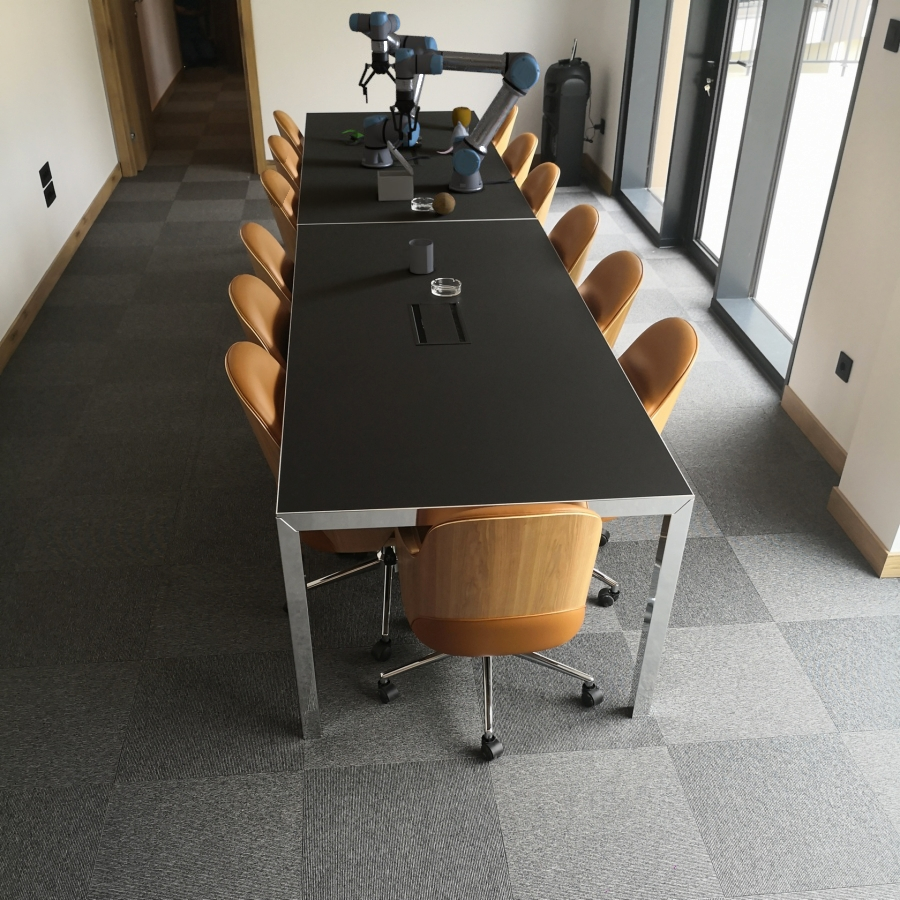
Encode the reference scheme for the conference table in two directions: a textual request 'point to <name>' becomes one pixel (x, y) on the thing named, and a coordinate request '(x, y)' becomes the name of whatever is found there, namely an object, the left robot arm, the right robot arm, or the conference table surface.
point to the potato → (443, 203)
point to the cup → (421, 256)
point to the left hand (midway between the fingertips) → (382, 102)
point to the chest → (395, 185)
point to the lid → (397, 154)
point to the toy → (457, 131)
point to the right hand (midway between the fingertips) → (405, 147)
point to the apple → (461, 116)
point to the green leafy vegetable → (354, 137)
